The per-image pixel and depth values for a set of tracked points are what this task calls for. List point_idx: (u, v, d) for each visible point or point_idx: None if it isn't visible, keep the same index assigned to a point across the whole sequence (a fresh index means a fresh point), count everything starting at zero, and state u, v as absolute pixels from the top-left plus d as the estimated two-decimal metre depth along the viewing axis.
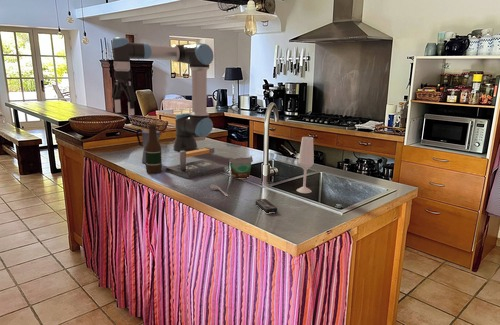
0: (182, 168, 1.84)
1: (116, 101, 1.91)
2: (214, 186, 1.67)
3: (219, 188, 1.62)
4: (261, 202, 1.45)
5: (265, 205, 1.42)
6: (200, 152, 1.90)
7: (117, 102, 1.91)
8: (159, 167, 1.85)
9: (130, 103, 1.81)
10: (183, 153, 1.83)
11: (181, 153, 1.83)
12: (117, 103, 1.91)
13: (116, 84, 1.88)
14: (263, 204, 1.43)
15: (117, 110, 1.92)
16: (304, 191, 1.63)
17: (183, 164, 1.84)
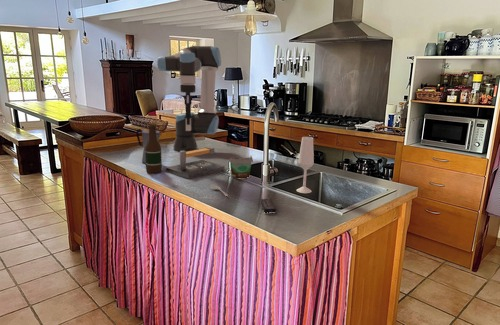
0: (182, 168, 1.84)
1: None
2: (214, 186, 1.67)
3: (219, 188, 1.62)
4: (264, 201, 1.46)
5: (266, 205, 1.42)
6: (200, 152, 1.90)
7: None
8: (159, 167, 1.85)
9: (186, 119, 1.91)
10: (183, 153, 1.83)
11: (181, 153, 1.83)
12: None
13: None
14: (265, 203, 1.43)
15: None
16: (304, 191, 1.63)
17: (183, 164, 1.84)
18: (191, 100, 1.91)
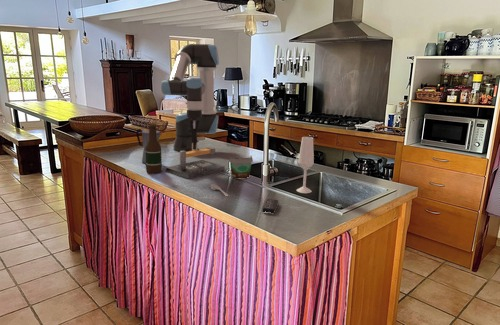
0: (182, 168, 1.84)
1: None
2: (214, 186, 1.67)
3: (219, 188, 1.62)
4: (268, 201, 1.46)
5: (267, 204, 1.43)
6: (200, 152, 1.89)
7: None
8: (159, 167, 1.85)
9: (193, 144, 1.90)
10: (183, 153, 1.83)
11: (181, 153, 1.83)
12: None
13: None
14: (267, 203, 1.44)
15: None
16: (304, 191, 1.63)
17: (183, 164, 1.84)
18: None
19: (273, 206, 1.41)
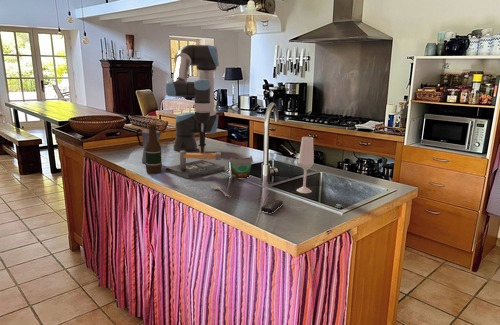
0: (180, 168, 1.85)
1: None
2: (214, 186, 1.67)
3: (219, 188, 1.62)
4: (272, 202, 1.46)
5: (268, 204, 1.43)
6: (202, 156, 1.83)
7: None
8: (159, 167, 1.85)
9: (200, 147, 1.85)
10: (181, 153, 1.83)
11: (180, 153, 1.83)
12: None
13: None
14: (269, 203, 1.44)
15: None
16: (304, 191, 1.63)
17: (181, 164, 1.84)
18: None
19: (273, 206, 1.41)
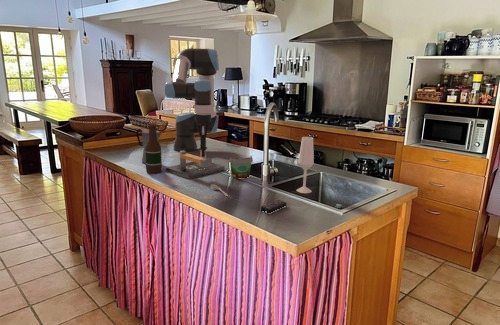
0: None
1: None
2: (214, 186, 1.67)
3: (219, 188, 1.62)
4: (275, 202, 1.45)
5: (269, 204, 1.43)
6: (192, 159, 1.76)
7: None
8: (159, 167, 1.85)
9: (201, 151, 1.77)
10: (180, 153, 1.83)
11: None
12: None
13: None
14: (271, 203, 1.44)
15: None
16: (304, 191, 1.63)
17: (180, 163, 1.85)
18: None
19: (273, 207, 1.40)
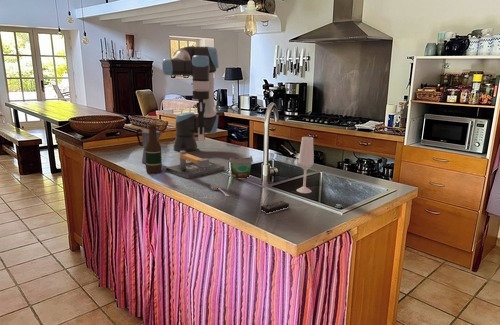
0: None
1: None
2: (214, 186, 1.67)
3: (219, 188, 1.62)
4: (277, 203, 1.45)
5: (270, 204, 1.43)
6: (190, 159, 1.76)
7: None
8: (159, 167, 1.85)
9: (199, 128, 1.75)
10: (180, 152, 1.83)
11: None
12: None
13: None
14: (272, 204, 1.44)
15: None
16: (304, 191, 1.63)
17: (180, 163, 1.85)
18: (204, 107, 1.74)
19: (272, 207, 1.40)
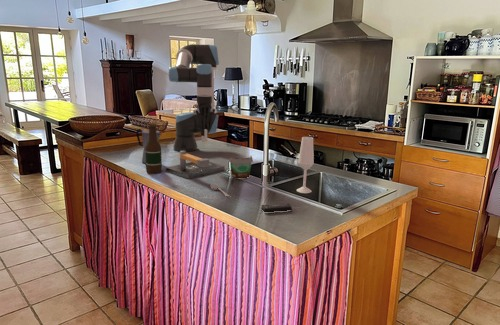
0: None
1: None
2: (214, 186, 1.67)
3: (219, 188, 1.62)
4: (280, 204, 1.43)
5: (272, 205, 1.42)
6: (190, 159, 1.76)
7: None
8: (159, 167, 1.85)
9: None
10: (180, 152, 1.83)
11: None
12: None
13: (210, 111, 1.92)
14: (275, 204, 1.43)
15: None
16: (304, 191, 1.63)
17: (180, 163, 1.85)
18: (208, 112, 1.89)
19: (271, 207, 1.40)
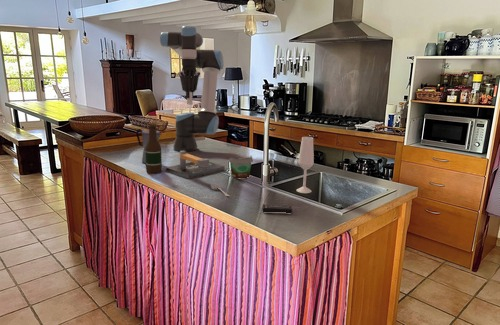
0: None
1: None
2: (214, 186, 1.67)
3: (219, 188, 1.62)
4: (282, 206, 1.42)
5: (273, 205, 1.42)
6: (190, 159, 1.76)
7: None
8: (159, 167, 1.85)
9: None
10: (180, 152, 1.83)
11: None
12: None
13: (195, 75, 1.97)
14: (276, 205, 1.42)
15: None
16: (304, 191, 1.63)
17: (180, 163, 1.85)
18: (192, 74, 1.93)
19: (270, 207, 1.40)
